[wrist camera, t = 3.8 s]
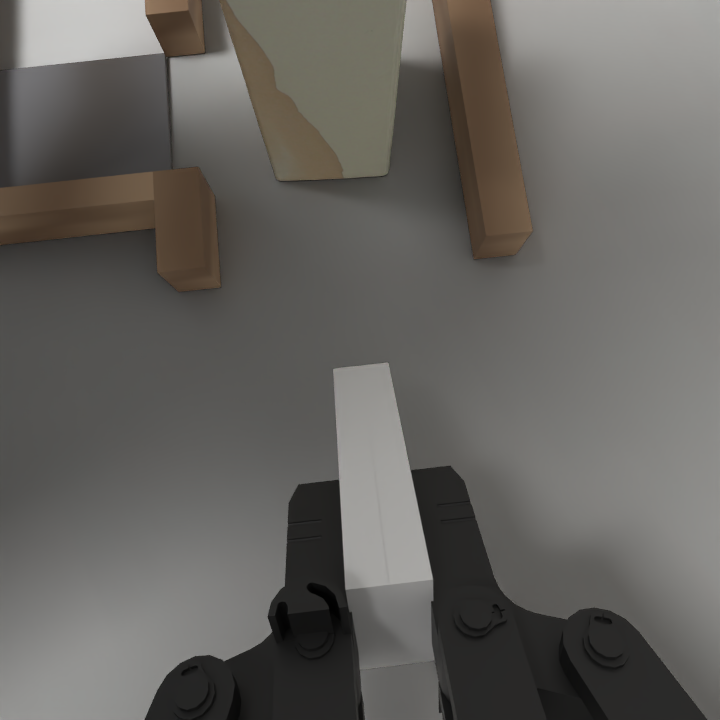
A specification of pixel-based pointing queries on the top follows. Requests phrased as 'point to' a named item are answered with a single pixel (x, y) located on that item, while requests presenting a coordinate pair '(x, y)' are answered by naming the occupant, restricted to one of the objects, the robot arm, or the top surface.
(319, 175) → the box
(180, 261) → the brown green flat frame
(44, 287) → the top surface
